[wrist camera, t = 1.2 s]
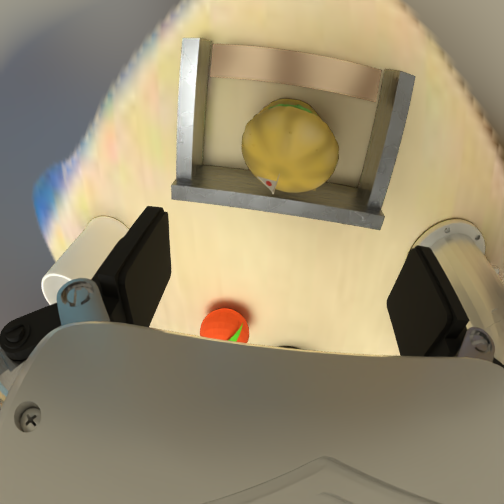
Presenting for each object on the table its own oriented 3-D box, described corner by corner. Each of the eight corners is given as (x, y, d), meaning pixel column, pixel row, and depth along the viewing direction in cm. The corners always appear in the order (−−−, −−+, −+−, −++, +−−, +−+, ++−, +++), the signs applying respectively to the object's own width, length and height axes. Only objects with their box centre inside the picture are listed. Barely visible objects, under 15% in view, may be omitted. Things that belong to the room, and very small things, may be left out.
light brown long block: (369, 69, 24) (384, 71, 20) (364, 96, 26) (378, 103, 22) (224, 46, 25) (212, 43, 21) (221, 74, 26) (209, 76, 22)
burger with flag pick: (339, 123, 28) (369, 159, 18) (300, 176, 32) (306, 236, 22) (274, 80, 26) (268, 90, 16) (237, 138, 30) (212, 182, 20)
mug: (167, 246, 39) (132, 313, 29) (148, 286, 43) (118, 349, 34) (92, 205, 36) (39, 259, 26) (82, 249, 41) (39, 304, 31)
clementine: (226, 286, 42) (216, 325, 36) (265, 310, 44) (262, 350, 38) (197, 315, 46) (185, 351, 40) (234, 335, 48) (227, 372, 42)
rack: (398, 73, 24) (422, 77, 19) (366, 202, 33) (380, 230, 28) (196, 40, 24) (176, 37, 19) (188, 176, 33) (171, 199, 28)
